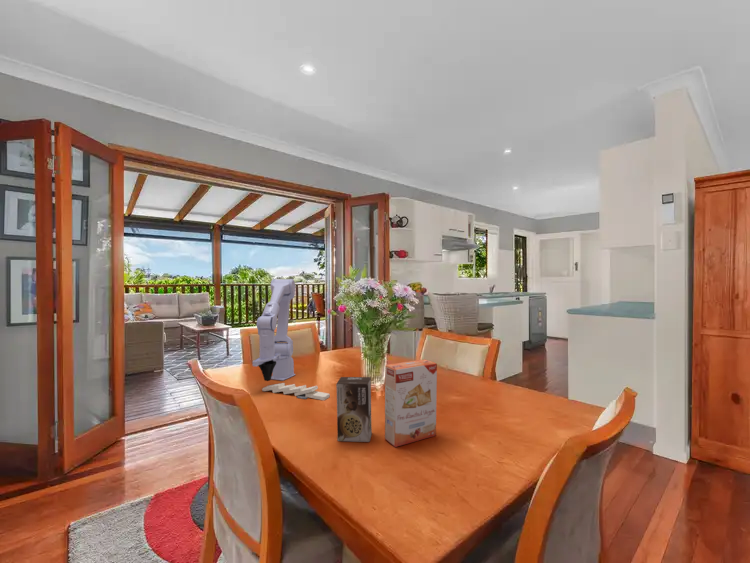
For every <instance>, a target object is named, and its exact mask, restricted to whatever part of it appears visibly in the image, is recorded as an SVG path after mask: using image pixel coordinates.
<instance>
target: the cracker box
mask: <svg viewBox="0 0 750 563" xmlns="http://www.w3.org/2000/svg"><path fill="white" fill-rule="evenodd" d="M384 371H385V374H384V378H385V381H384V384H385V385H384V387H385V388H384V439H385V440H386V441H387V442H388V443H390V445H392V446H393V447H394V448H397V447H401V446H404V445H407V444H411V443H415V442H419V441H422V440H424V439H428V438H433V437H436V435H437V388H438V387H437V386H438V384H437V383H438V381H437V380H438V379H437V378H438V364H437V363H436V362H434V361H431V360H428V359H425V358H424V359H417V360H411V361H403V362H396V363H390V364H385V368H384Z"/></svg>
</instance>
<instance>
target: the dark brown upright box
mask: <svg viewBox="0 0 750 563" xmlns="http://www.w3.org/2000/svg"><path fill="white" fill-rule="evenodd" d="M371 378H372V377H370V376H340V377H339V379H338V381H337V383H336V384H335V385H336V388H335V389H336V418H337V419H336V422H337V423H336V425H337V426H336V428H337V430H336V432H337V436H336V438H337V440H336V441H337V442H355V443H357V442H358V443H360V442H361V443H363V442H364V443H369V442H371V437H372V434H373V432H372V431H373V430H372V429H373V428H372V427H373V426H372V388H371V387H372V382H371V381H372V380H371Z"/></svg>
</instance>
